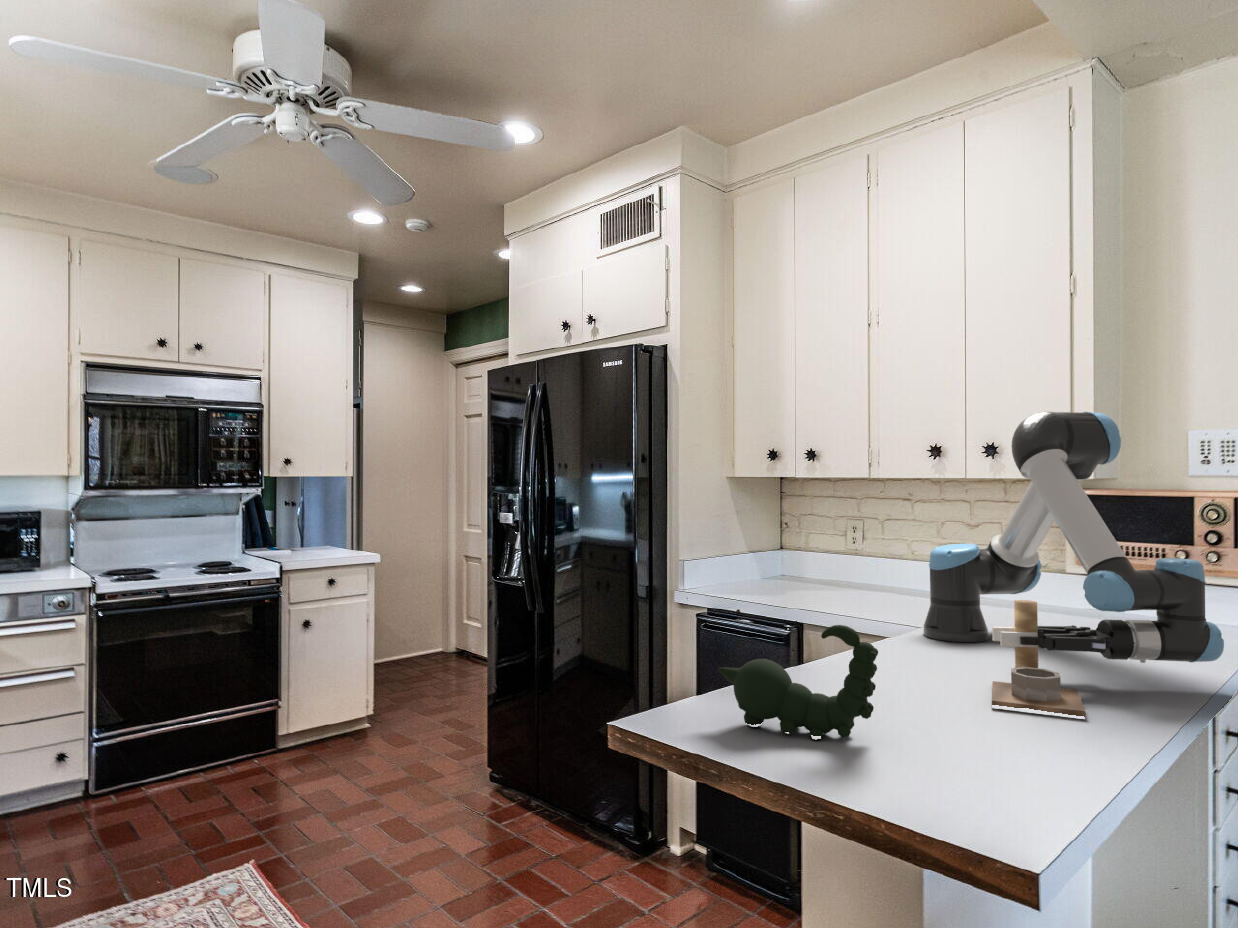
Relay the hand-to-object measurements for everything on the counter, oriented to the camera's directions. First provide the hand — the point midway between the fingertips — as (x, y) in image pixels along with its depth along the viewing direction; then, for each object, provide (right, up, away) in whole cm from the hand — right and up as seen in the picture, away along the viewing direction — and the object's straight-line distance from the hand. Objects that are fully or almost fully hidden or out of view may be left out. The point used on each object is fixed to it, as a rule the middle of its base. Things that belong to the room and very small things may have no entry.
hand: (997, 636), depth 148 cm
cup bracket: (0, -9, -14) cm, 16 cm away
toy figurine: (-47, -9, -28) cm, 55 cm away
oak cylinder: (+5, -9, -1) cm, 10 cm away
